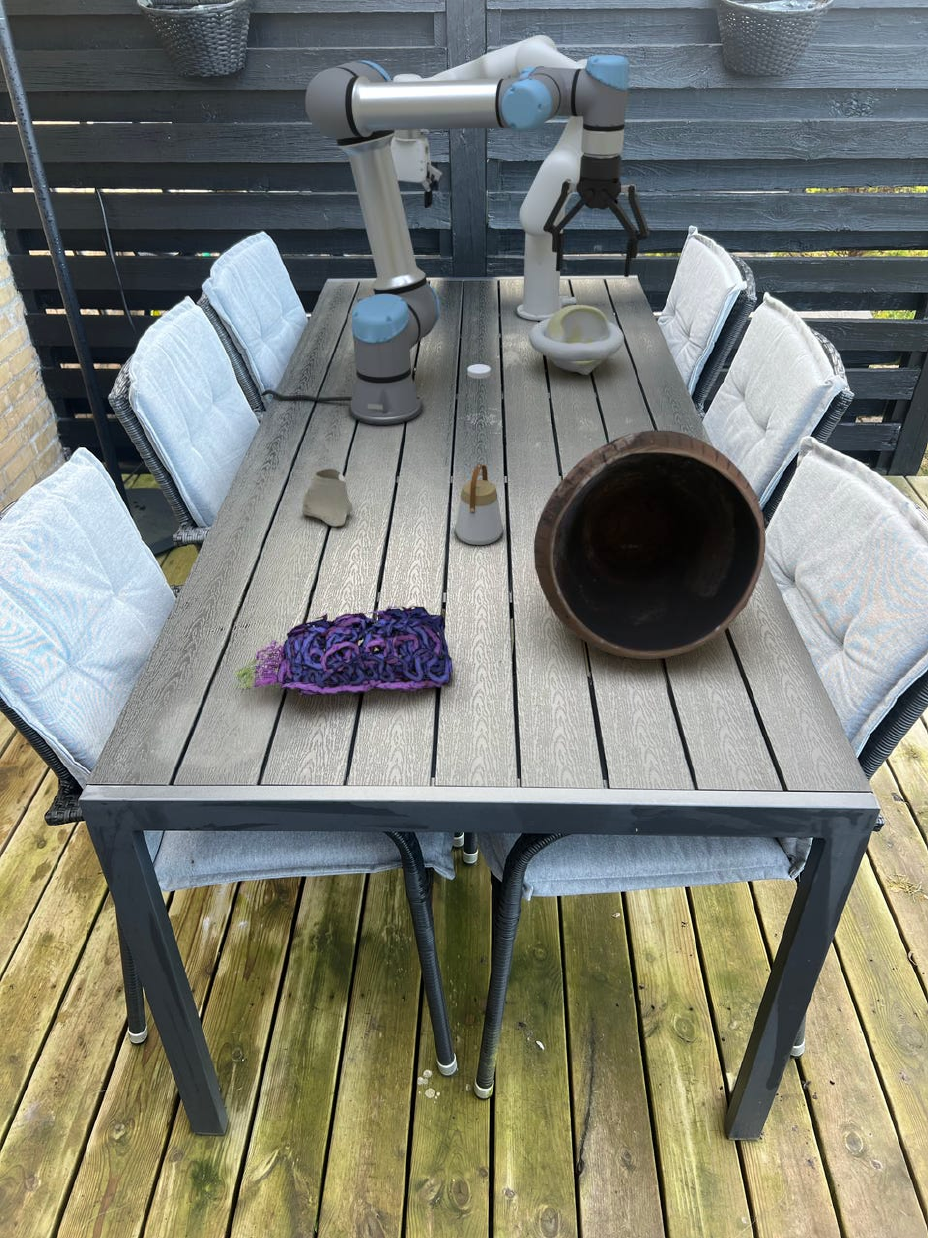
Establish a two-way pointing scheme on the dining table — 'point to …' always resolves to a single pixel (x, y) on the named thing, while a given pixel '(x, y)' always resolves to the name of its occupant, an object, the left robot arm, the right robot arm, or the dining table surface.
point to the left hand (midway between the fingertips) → (592, 272)
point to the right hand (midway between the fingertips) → (410, 204)
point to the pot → (650, 545)
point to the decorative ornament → (358, 654)
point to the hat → (576, 338)
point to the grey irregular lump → (327, 498)
